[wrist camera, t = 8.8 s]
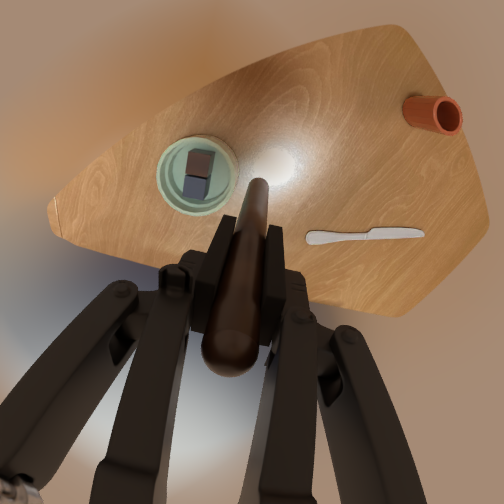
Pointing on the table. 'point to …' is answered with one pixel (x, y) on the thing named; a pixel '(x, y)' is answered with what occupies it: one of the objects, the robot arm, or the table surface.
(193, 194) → the block
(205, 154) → the block
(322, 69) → the table surface
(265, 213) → the stick
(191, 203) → the bowl
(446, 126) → the holder
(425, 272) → the table surface
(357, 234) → the butter knife
